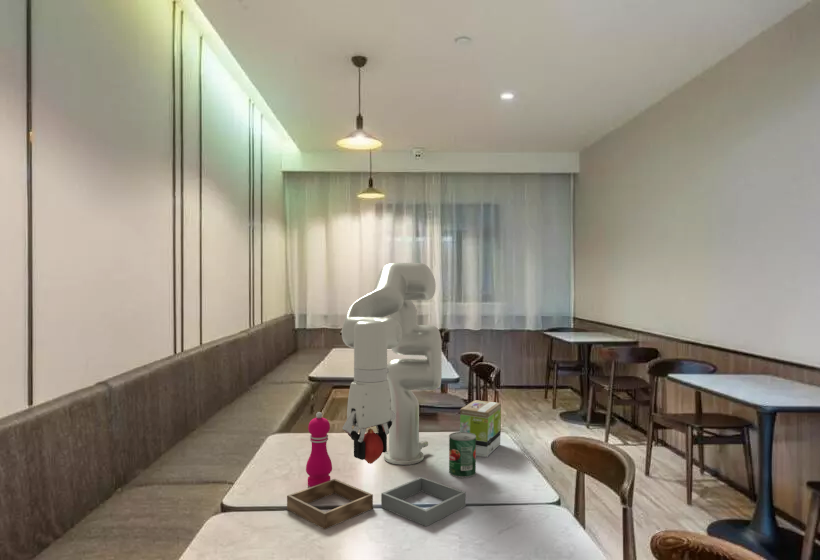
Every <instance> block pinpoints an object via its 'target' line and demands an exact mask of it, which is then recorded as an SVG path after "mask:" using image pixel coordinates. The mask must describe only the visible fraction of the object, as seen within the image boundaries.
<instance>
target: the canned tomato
mask: <svg viewBox="0 0 820 560" xmlns="http://www.w3.org/2000/svg"><path fill="white" fill-rule="evenodd" d="M448 439H449V441H448V443H449V444H448V446H449V448H448V449H449V450H448V452H449V453H448V457H449V458H448V473H449V476H452V477H455V478H461V479H462V478H463V479H467V478H472V477H474V476H475V475H476V474H477V473H476V472H477V471H476V469H477V468H476V466H477V459H476V458H477V456H476V435H475V434H472V433H468V432H460V431H456V432H452V433H449V435H448Z"/></svg>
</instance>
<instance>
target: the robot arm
mask: <svg viewBox="0 0 820 560" xmlns="http://www.w3.org/2000/svg"><path fill="white" fill-rule="evenodd" d="M375 282H376V283H375V286H374V289H373V291H372V292H371V291H370V292H369V293H367V294H366V295H364V296H362V297H360V298H359V299H357V300H356V301H354V302H353V303H352V304H351V305H350V307H349V308H348V310H347V312H346V315H345V317H344V320H343V323H342V328H341V339H342V341H343V343H344V345H345V346H347V347H348V348H351V349H353V381H352V382H351V383H350V386H349V389H348V390H349V391H348V398H347V410H346V421H345V422H344V424H343V425H342V430H343V431H344V432H345V433H346V434H347V435H348V436H349V438H351V440H353V457H354V458H356V459H358V460H360V461H363V460H364V459H365V442H364V441H363V439H364V435H365V433H366V431H367V429H371V428H374V427H376V430H377V432H375V433H376V434H377V435H378V436H379V437H380V438H381V439H382V442H383V452H382V454H383V459H384V461H386V462H387V463H389V464H393V465H399V466H400V465H402V466H405V465H407V466H408V465H409V466H410V465H414V464H418V463H420V462H422V461H423V460H424V457H425V454H424V453H423V452H422V449H423V448H426V447H428V446H429V442H428V440H423V441H420V416H419V415H420V404H419V400H418V398H417V396H416V395H415V394H414V392H413V390H420V391H422V390H425V391H434V390H437V389H438V388H440V386H441V385H442V384H441V383H442V377H443V376H442V373H443V372H442V370H443V369H442V337H441V331H440V329H439V328H438V327H437V326H435V325H431V324H418V311H417V310H418V309H417V307H416V305H415V303H414V302H413V301H429V300H431V299H432V298H434V296H435V293H436V289H437V288H436V287H437V285H436V284H437V283H436V279H435V275H434V274H433V272H432V271H431V269H430V268H429V266H428V265H426V264H425V263H422V262H392V263H388V264H385V265H384V266H383V267H382V268H381V269H380V271H379V274H378V277H377V279H376V281H375ZM388 316H389V317H388ZM390 349H391V351H392V352H393V353H394V354H396V355H399V356H400V355H401V356H424V357H425V358H426V359H425V358H404V357H403V358H394V359H391V360H390V361H389V362H388V350H390ZM387 435H388V436H387ZM364 461H365V460H364Z"/></svg>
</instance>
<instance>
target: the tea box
mask: <svg viewBox="0 0 820 560" xmlns="http://www.w3.org/2000/svg"><path fill="white" fill-rule="evenodd" d="M459 414H460V417H459V432H468V433H472V434H475V435H476V457H481V458H483V457H484V458H488V457H489V456H490V455H491V453H492V452H494V451H495V450H496V449H497V448H498V447H499V446H500V445H501V434H502V433H501V422H502V403H501V402H493V401H487V400H486V401H485V400H478V399H477V400H476V399H474V400H473V401H471V402H469V403H467V404H466V405H464V406H463V407H461V408H460V412H459Z"/></svg>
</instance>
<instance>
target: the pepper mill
mask: <svg viewBox="0 0 820 560" xmlns="http://www.w3.org/2000/svg"><path fill="white" fill-rule="evenodd" d="M307 429H308V430H307V431H308V432H309V434H310V436H309V438H310V439H309V441H310V442H311V450H310V455H309V457H308V459H307V462H306V466H305V473H306V474H307V475H308V477H307V485H308V486H309V488H310V487H313V486H316V485H318V484H321V483H324V482H327V481H330V480H331V476H330V474H331V473H332V470H333V465H332V459H331V458H330V455H329V453H328V448H327V447H328V446H327V442H328V441H329V434H328V433H329V432H330V429H331V424H330V421H329V420H328V419H327V418H325V417H323V413H322V412H320V411H317V412H316V414H315V417H314V418H312V419H311V420H310V421H309V423H308V426H307Z"/></svg>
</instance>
